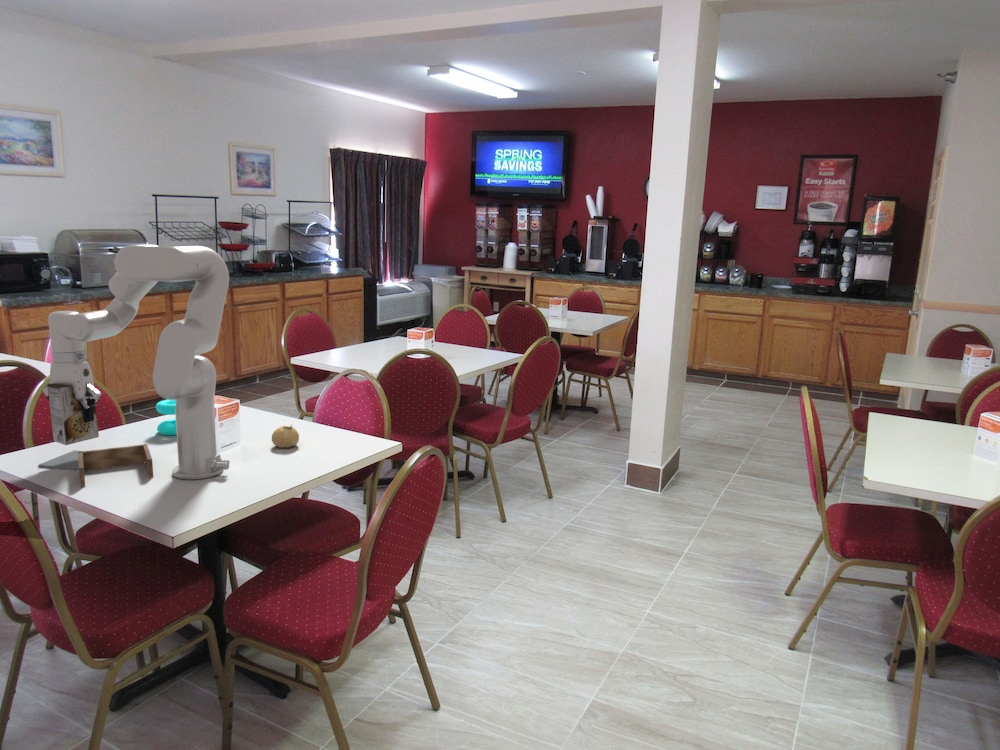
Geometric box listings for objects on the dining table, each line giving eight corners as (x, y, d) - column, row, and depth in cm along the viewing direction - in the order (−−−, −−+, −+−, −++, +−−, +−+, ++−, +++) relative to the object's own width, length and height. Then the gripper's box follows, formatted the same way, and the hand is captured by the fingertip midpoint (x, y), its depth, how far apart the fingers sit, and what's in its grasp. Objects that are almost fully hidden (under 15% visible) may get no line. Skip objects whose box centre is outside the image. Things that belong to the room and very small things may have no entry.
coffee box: (86, 433, 196) (81, 377, 193) (99, 437, 193) (94, 380, 190) (52, 441, 188) (46, 383, 185) (65, 445, 185) (59, 386, 182)
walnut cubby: (148, 461, 194) (146, 444, 193) (153, 477, 182) (152, 459, 181) (79, 469, 186) (78, 451, 184) (80, 487, 174) (78, 468, 172)
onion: (270, 451, 207) (270, 428, 205) (273, 443, 214) (272, 421, 213) (298, 450, 208) (298, 427, 207) (300, 442, 216) (299, 420, 215)
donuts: (149, 404, 215) (165, 397, 225) (151, 435, 217) (167, 427, 227) (180, 406, 215) (195, 398, 225) (182, 437, 217) (197, 428, 227)
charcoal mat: (115, 455, 197) (115, 453, 197) (81, 470, 185) (81, 468, 185) (74, 452, 199) (74, 450, 199) (38, 466, 187) (38, 464, 186)
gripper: (107, 356, 188) (113, 419, 192) (50, 353, 191) (56, 414, 194) (87, 361, 181) (93, 426, 185) (28, 357, 184) (35, 421, 187)
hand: (74, 420), depth 190 cm, fingers closed on coffee box, 8 cm apart
